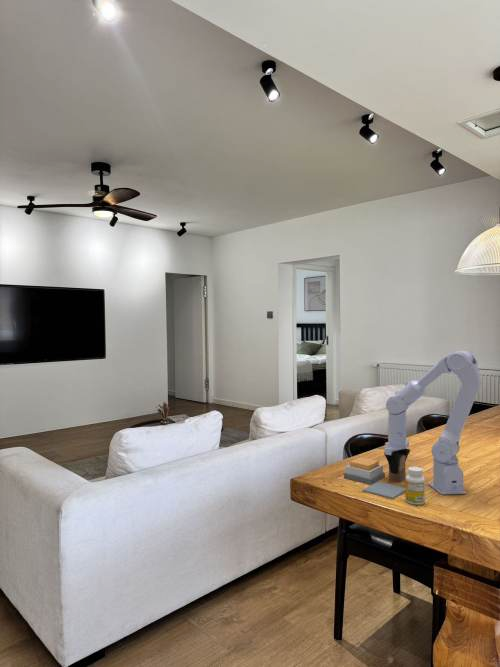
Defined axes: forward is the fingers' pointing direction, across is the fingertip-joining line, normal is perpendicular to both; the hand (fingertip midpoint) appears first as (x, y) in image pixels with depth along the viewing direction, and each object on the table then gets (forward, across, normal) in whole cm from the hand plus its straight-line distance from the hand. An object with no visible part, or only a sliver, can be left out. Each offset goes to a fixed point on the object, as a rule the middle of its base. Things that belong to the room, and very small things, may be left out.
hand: (397, 471), depth 157 cm
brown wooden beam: (+2, 0, 0) cm, 2 cm away
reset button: (-1, +6, -9) cm, 11 cm away
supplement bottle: (+3, +15, +13) cm, 20 cm away
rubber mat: (+2, +13, +2) cm, 13 cm away
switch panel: (+2, +6, -9) cm, 11 cm away
